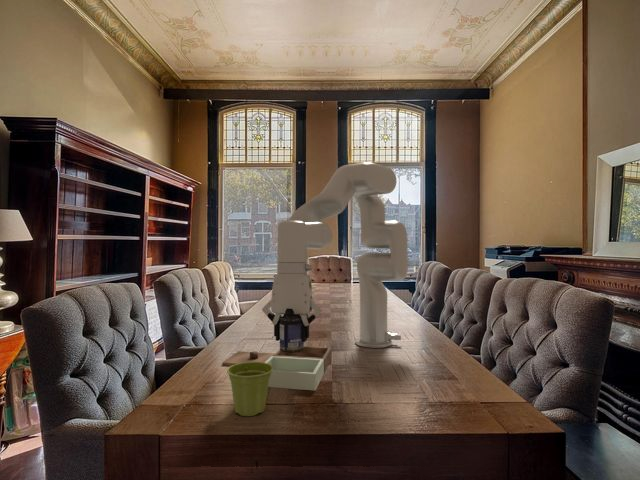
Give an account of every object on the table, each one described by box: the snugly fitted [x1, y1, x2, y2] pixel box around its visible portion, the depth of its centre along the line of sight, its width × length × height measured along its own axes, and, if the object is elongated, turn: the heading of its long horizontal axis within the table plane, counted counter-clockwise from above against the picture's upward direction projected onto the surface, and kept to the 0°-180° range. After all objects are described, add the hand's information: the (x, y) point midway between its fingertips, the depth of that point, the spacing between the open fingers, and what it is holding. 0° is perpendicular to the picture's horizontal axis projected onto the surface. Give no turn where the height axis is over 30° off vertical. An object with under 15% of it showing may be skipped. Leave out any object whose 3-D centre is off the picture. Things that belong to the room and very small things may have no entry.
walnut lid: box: [221, 350, 277, 367], centre depth 111 cm, size 15×12×2 cm
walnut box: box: [273, 345, 332, 373], centre depth 108 cm, size 15×12×4 cm
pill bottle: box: [279, 308, 305, 353], centre depth 95 cm, size 6×6×11 cm
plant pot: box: [226, 362, 273, 417], centre depth 78 cm, size 9×9×9 cm
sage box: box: [265, 356, 325, 392], centre depth 95 cm, size 15×12×4 cm
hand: (291, 339), depth 95 cm, fingers closed on pill bottle, 6 cm apart
